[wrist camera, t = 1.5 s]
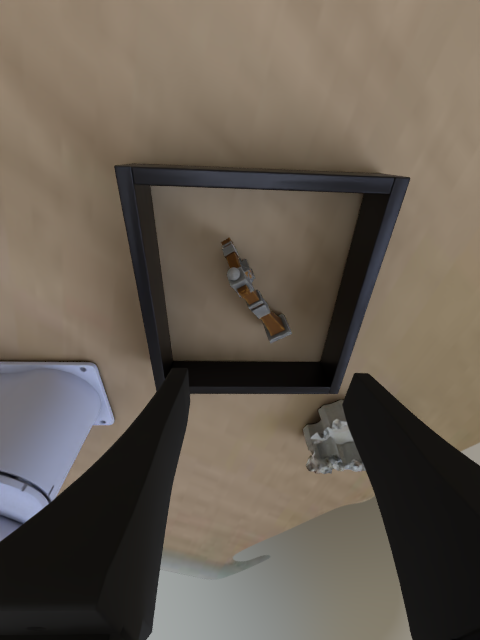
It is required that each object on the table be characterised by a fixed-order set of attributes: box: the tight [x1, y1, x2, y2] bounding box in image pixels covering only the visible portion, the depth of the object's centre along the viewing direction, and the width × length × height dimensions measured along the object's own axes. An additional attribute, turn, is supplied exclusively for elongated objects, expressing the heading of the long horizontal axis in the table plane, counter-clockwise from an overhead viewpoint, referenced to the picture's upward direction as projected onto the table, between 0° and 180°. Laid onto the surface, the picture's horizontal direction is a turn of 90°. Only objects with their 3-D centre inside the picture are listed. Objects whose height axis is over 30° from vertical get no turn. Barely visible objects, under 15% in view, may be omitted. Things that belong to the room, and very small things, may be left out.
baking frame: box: [114, 163, 410, 394], centre depth 18 cm, size 15×16×3 cm
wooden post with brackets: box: [221, 238, 292, 343], centre depth 18 cm, size 2×8×4 cm, turn 29°
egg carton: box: [303, 400, 366, 474], centre depth 27 cm, size 11×8×4 cm
